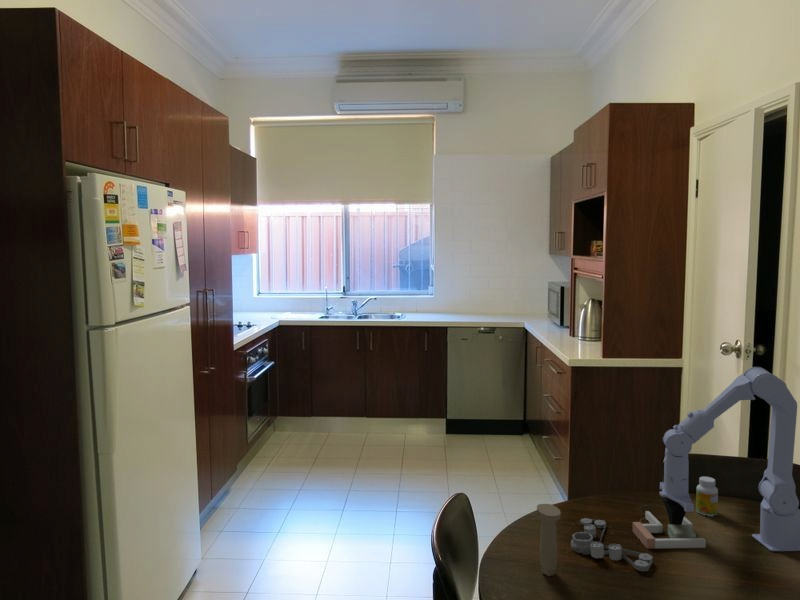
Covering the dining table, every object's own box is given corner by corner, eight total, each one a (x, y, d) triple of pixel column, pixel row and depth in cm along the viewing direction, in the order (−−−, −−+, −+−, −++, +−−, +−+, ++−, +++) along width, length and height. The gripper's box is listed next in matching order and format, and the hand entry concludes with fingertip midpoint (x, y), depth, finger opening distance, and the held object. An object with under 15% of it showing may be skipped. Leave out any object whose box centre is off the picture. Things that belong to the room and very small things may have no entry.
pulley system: (603, 584, 127) (662, 572, 130) (602, 564, 127) (661, 552, 130) (548, 532, 154) (598, 523, 157) (546, 515, 154) (596, 506, 157)
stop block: (640, 531, 150) (640, 522, 149) (655, 548, 141) (655, 538, 140) (632, 531, 150) (632, 522, 149) (646, 548, 141) (647, 538, 140)
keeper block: (687, 536, 147) (688, 524, 147) (695, 545, 142) (695, 534, 142) (667, 535, 147) (667, 524, 147) (674, 545, 143) (675, 533, 142)
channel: (677, 517, 157) (678, 510, 157) (709, 547, 140) (709, 539, 140) (629, 518, 157) (629, 511, 157) (655, 548, 141) (655, 540, 140)
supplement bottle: (691, 510, 161) (692, 476, 161) (706, 507, 163) (707, 474, 162) (706, 518, 156) (707, 483, 156) (722, 515, 158) (722, 481, 157)
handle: (544, 581, 127) (544, 516, 126) (533, 566, 133) (532, 504, 132) (564, 579, 128) (564, 514, 127) (552, 564, 134) (552, 502, 133)
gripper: (648, 466, 155) (648, 514, 156) (674, 487, 141) (673, 540, 141) (674, 466, 155) (674, 514, 156) (702, 487, 140) (701, 540, 141)
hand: (675, 526), depth 149 cm, fingers closed
